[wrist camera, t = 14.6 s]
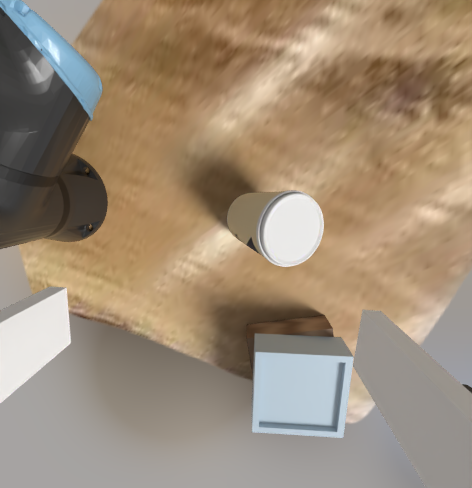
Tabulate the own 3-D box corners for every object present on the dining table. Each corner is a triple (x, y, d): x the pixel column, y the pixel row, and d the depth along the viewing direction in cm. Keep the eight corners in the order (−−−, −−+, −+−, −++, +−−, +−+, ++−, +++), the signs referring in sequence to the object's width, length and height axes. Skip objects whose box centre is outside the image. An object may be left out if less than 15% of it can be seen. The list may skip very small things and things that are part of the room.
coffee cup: (215, 240, 40) (252, 263, 29) (230, 180, 38) (274, 180, 28) (265, 250, 44) (313, 272, 33) (280, 196, 43) (334, 201, 32)
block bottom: (257, 388, 50) (258, 410, 45) (246, 323, 47) (246, 338, 43) (330, 381, 49) (339, 402, 44) (323, 314, 46) (332, 328, 41)
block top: (251, 405, 45) (252, 432, 40) (254, 333, 42) (255, 352, 37) (332, 410, 44) (343, 437, 40) (341, 337, 42) (353, 356, 37)
